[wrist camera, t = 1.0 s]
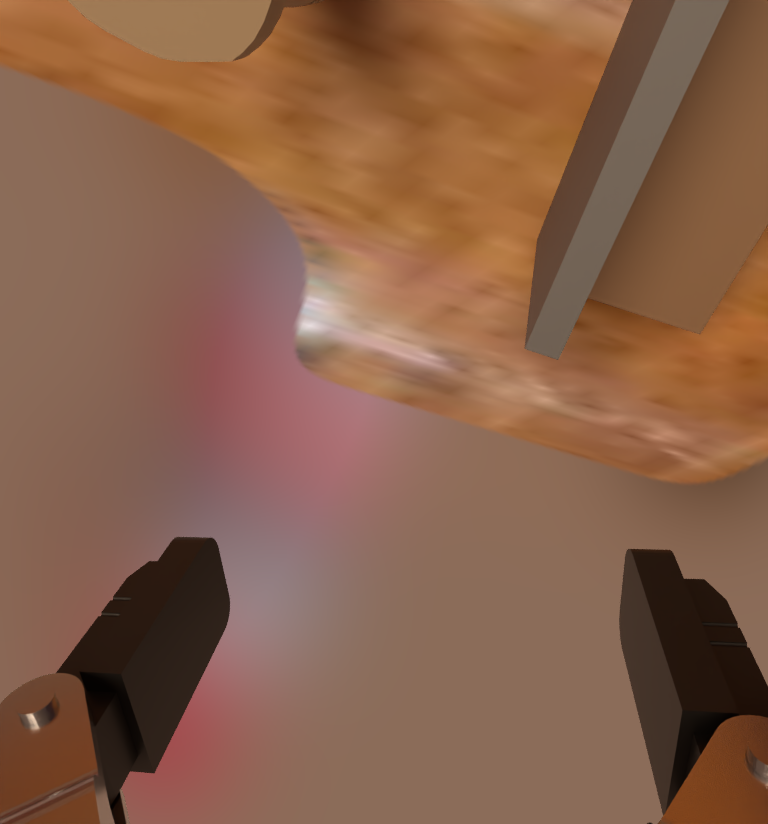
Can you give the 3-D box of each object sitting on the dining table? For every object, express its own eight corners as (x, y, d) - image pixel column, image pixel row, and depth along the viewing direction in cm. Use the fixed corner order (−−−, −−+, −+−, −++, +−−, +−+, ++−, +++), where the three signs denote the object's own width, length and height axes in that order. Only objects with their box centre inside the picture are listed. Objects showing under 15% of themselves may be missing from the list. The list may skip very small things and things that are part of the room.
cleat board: (715, -208, 22) (814, -322, 13) (929, -147, 21) (1181, -223, 13) (537, 239, 31) (524, 348, 22) (683, 285, 31) (728, 415, 22)
